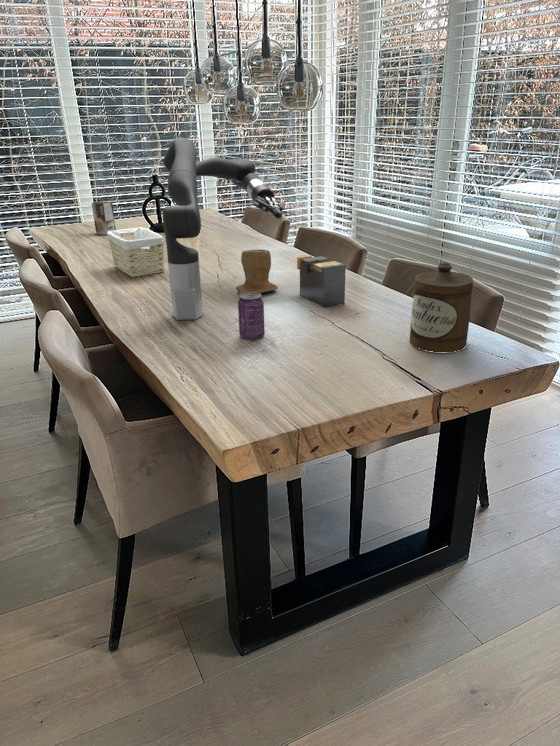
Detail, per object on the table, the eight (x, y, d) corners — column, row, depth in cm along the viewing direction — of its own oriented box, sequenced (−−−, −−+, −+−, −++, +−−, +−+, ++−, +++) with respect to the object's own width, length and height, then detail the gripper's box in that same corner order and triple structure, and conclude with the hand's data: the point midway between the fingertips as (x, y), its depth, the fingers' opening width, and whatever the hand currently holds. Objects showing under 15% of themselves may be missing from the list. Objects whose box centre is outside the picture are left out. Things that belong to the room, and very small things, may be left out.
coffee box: (117, 233, 303) (112, 201, 296) (107, 235, 298) (103, 203, 291) (105, 231, 308) (100, 200, 301) (95, 233, 303) (90, 202, 296)
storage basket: (168, 273, 228) (164, 235, 221) (128, 279, 220) (123, 240, 214) (147, 261, 246) (143, 226, 240) (110, 266, 238) (105, 230, 232)
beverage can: (251, 330, 167) (249, 290, 162) (269, 335, 162) (268, 294, 157) (234, 337, 162) (232, 296, 157) (253, 342, 158) (251, 300, 152)
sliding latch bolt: (297, 268, 197) (297, 257, 196) (309, 266, 199) (309, 255, 198) (323, 280, 183) (323, 268, 182) (336, 278, 185) (337, 266, 184)
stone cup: (264, 284, 209) (263, 243, 203) (282, 292, 200) (281, 249, 194) (227, 291, 202) (225, 249, 196) (244, 300, 193) (242, 256, 187)
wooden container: (398, 344, 155) (404, 263, 146) (428, 329, 164) (436, 253, 155) (447, 358, 145) (457, 273, 136) (476, 343, 154) (487, 262, 145)
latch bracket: (299, 295, 196) (299, 257, 191) (319, 291, 200) (320, 254, 194) (323, 307, 184) (324, 267, 178) (344, 303, 187) (345, 264, 182)
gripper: (247, 181, 204) (266, 203, 194) (278, 186, 211) (299, 208, 200) (241, 200, 209) (259, 223, 198) (272, 204, 216) (291, 227, 205)
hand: (279, 216), depth 199 cm, fingers closed
